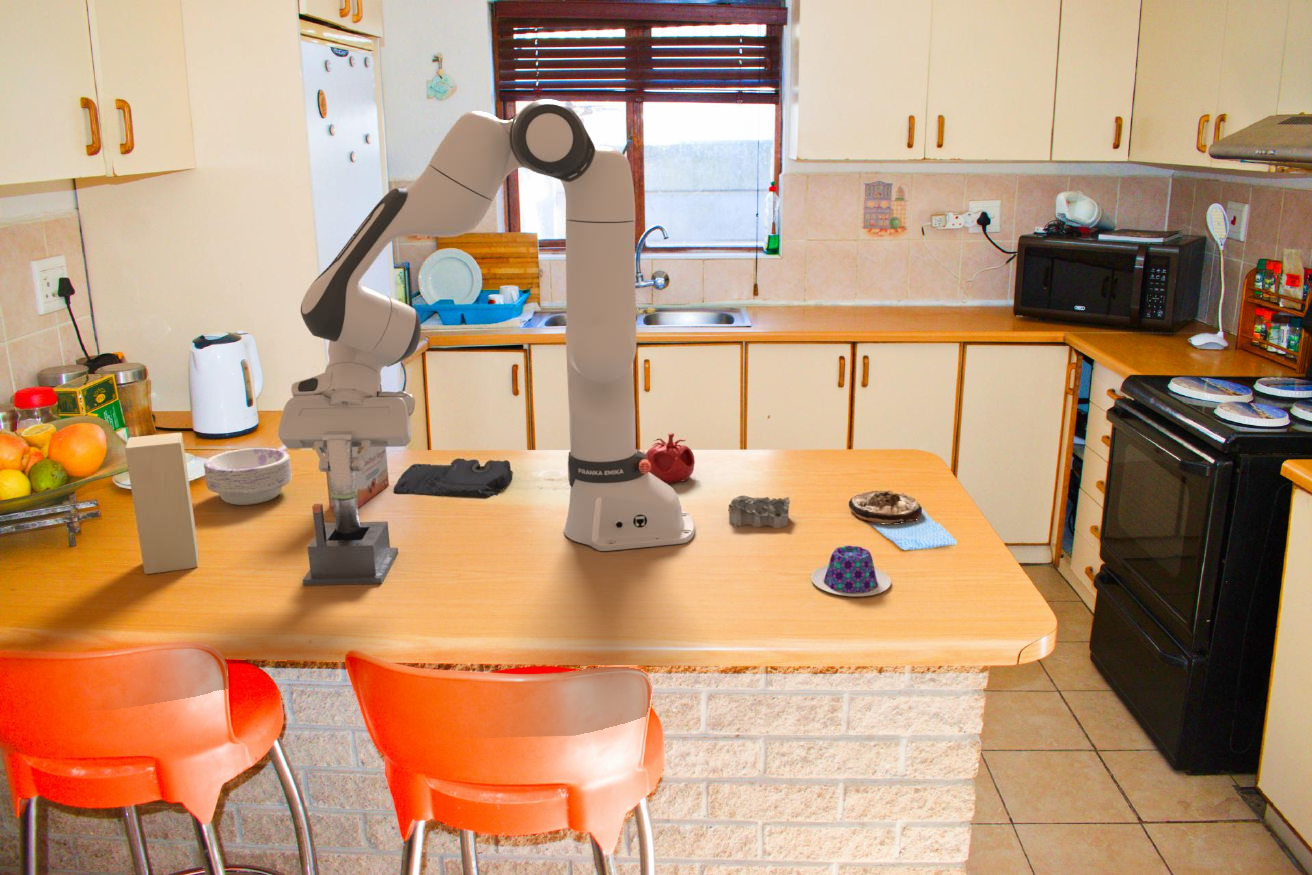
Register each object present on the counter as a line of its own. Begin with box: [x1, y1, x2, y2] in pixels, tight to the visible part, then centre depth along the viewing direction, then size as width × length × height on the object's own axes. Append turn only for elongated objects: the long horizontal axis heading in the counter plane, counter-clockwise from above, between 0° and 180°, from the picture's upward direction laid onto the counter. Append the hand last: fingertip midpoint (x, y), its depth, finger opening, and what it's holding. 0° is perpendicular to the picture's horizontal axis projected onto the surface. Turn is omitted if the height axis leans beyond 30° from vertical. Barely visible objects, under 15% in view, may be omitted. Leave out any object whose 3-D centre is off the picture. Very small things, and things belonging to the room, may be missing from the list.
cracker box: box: [323, 384, 390, 508], centre depth 196 cm, size 14×6×21 cm, turn 168°
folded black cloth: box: [393, 458, 514, 499], centre depth 205 cm, size 15×22×5 cm
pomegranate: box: [645, 432, 696, 484], centre depth 206 cm, size 10×10×9 cm
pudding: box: [810, 545, 892, 597], centre depth 159 cm, size 12×12×5 cm
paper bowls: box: [203, 447, 293, 506], centre depth 199 cm, size 15×15×8 cm
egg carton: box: [728, 495, 791, 529], centre depth 184 cm, size 11×8×4 cm
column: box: [322, 431, 361, 533], centre depth 162 cm, size 4×4×16 cm
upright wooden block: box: [125, 432, 200, 575], centre depth 167 cm, size 8×7×21 cm
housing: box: [302, 503, 399, 586], centre depth 165 cm, size 12×12×12 cm
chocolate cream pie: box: [848, 490, 923, 524], centre depth 187 cm, size 15×15×4 cm
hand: (340, 470), depth 161 cm, fingers closed on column, 4 cm apart
